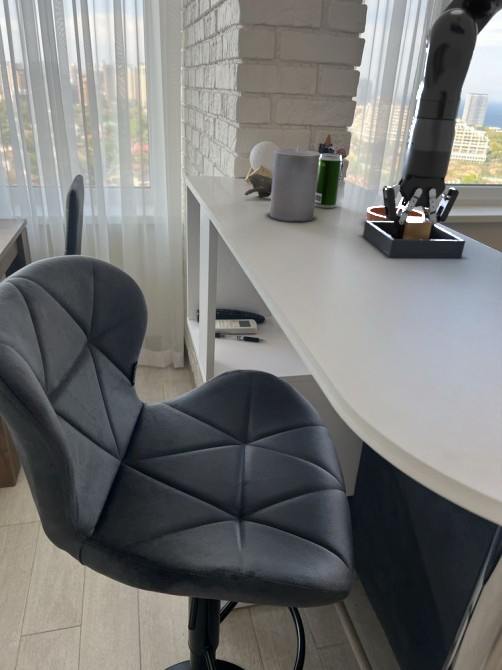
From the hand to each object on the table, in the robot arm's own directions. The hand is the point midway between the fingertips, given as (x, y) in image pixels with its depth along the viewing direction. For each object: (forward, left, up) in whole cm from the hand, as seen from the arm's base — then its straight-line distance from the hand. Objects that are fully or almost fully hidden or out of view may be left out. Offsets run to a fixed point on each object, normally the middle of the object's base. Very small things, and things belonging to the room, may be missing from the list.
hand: (410, 243), depth 95 cm
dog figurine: (+20, -41, -1) cm, 46 cm away
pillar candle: (+18, -22, -1) cm, 29 cm away
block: (0, 0, 0) cm, 0 cm away
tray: (0, 0, -1) cm, 1 cm away
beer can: (+7, -34, -1) cm, 35 cm away
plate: (-3, -15, -1) cm, 15 cm away
